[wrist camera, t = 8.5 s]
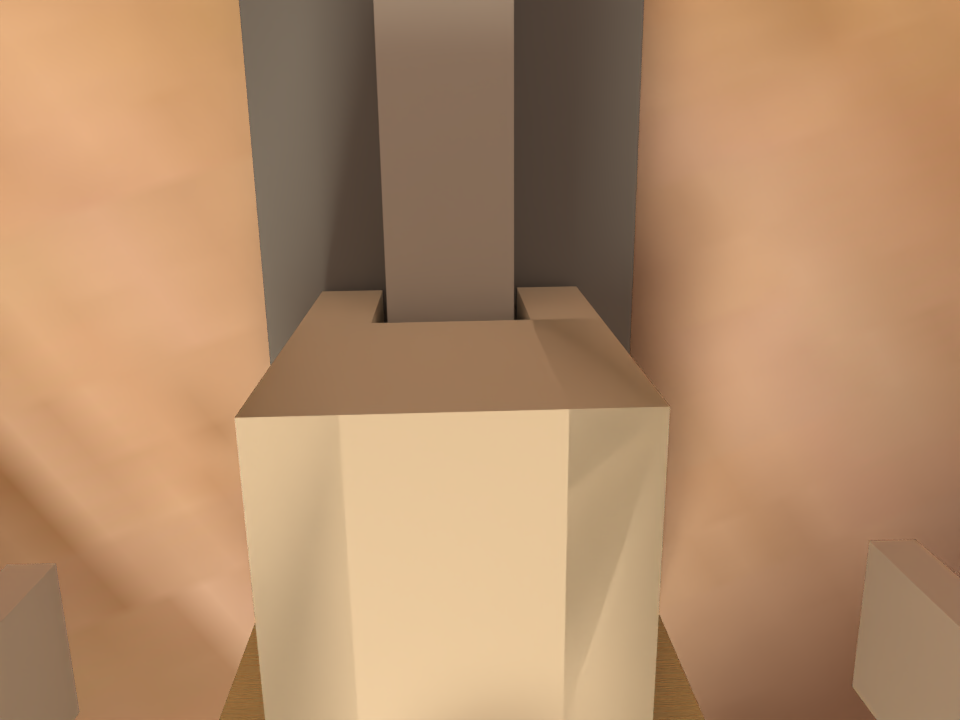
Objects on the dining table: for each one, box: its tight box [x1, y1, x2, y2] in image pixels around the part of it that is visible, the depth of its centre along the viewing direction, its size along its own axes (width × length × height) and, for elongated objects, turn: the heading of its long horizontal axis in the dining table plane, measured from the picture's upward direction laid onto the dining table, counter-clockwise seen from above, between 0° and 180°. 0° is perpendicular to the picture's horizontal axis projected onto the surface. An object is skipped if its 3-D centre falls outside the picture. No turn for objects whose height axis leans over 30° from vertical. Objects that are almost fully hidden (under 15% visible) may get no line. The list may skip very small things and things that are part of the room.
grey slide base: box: [239, 0, 644, 365], centre depth 21 cm, size 10×19×5 cm, turn 1°
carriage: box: [235, 286, 670, 720], centre depth 18 cm, size 7×6×10 cm
